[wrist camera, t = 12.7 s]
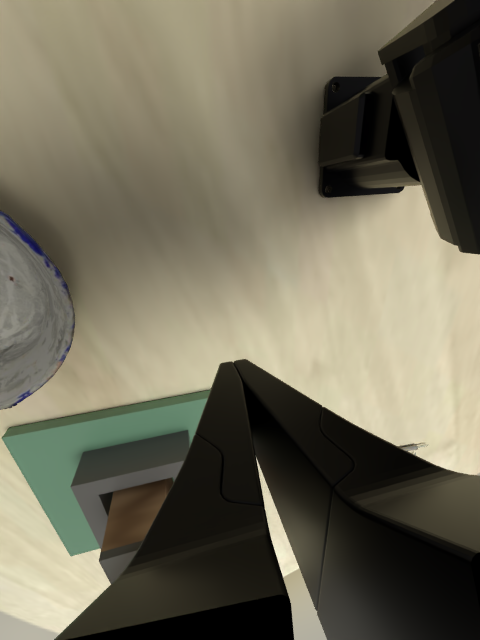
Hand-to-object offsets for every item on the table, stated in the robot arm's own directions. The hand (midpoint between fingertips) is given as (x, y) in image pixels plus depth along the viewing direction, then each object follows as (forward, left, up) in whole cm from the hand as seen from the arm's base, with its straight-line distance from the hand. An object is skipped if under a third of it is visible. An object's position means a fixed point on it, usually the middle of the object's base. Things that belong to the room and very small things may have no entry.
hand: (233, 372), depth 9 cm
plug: (+7, +18, -11) cm, 22 cm away
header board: (+7, +18, -12) cm, 23 cm away
